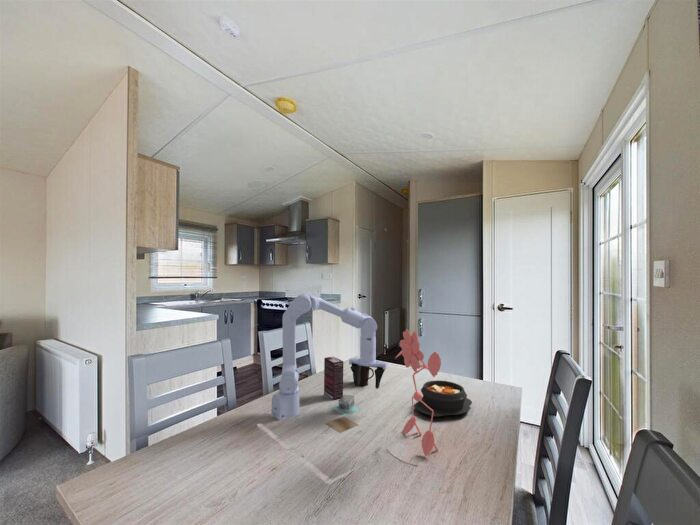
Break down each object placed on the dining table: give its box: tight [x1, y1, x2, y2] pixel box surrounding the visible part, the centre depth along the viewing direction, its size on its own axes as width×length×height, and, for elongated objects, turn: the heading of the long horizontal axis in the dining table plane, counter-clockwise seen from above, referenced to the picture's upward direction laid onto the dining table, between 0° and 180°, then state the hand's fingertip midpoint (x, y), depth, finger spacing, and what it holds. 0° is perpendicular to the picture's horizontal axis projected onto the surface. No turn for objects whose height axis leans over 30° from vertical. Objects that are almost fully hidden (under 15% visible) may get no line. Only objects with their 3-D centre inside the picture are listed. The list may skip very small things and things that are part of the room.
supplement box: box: [323, 356, 344, 401], centre depth 133 cm, size 9×5×16 cm, turn 31°
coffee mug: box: [352, 366, 375, 388], centre depth 147 cm, size 12×9×10 cm
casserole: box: [413, 380, 473, 417], centre depth 123 cm, size 25×19×8 cm
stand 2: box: [325, 416, 359, 434], centre depth 108 cm, size 8×8×1 cm
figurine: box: [387, 328, 442, 467], centre depth 97 cm, size 15×26×35 cm, turn 19°
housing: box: [338, 393, 355, 413], centre depth 120 cm, size 6×4×4 cm, turn 160°
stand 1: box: [331, 405, 362, 417], centre depth 120 cm, size 8×8×1 cm
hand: (367, 386), depth 119 cm, fingers open, 7 cm apart
